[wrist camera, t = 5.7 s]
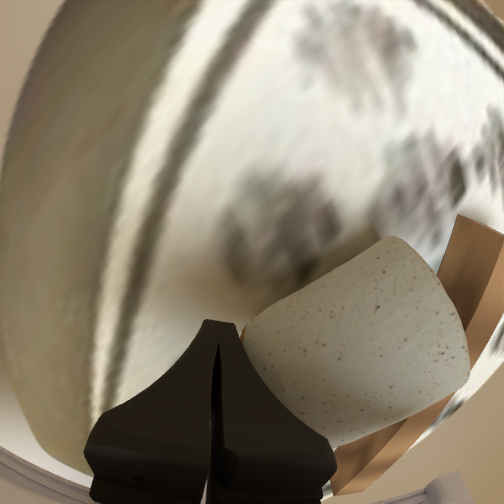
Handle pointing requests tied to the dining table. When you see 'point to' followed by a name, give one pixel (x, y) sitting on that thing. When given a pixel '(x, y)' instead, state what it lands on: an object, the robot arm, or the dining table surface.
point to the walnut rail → (477, 335)
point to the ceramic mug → (361, 344)
